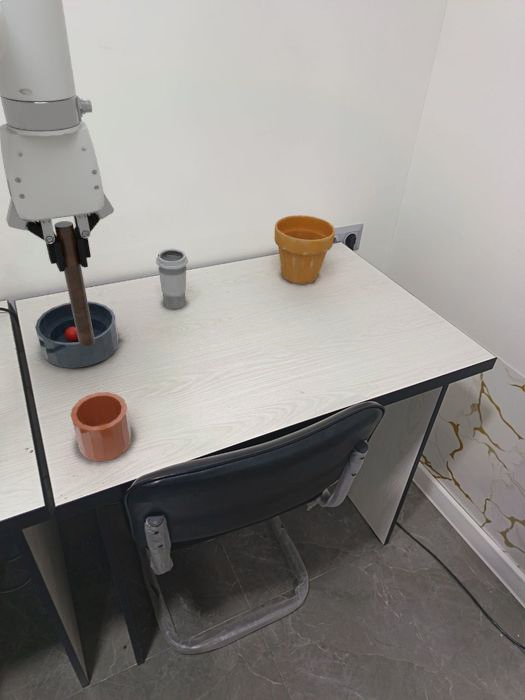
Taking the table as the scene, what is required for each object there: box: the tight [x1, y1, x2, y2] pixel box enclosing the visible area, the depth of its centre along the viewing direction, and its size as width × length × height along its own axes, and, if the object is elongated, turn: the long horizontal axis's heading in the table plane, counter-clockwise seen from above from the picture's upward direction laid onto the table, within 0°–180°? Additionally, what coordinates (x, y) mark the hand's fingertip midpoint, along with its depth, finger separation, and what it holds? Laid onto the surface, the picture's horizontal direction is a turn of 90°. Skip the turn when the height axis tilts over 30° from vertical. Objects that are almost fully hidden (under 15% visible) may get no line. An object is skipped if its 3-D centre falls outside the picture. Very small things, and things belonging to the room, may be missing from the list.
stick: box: [53, 220, 95, 347], centre depth 67 cm, size 2×2×18 cm
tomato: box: [65, 327, 78, 342], centre depth 96 cm, size 3×3×3 cm
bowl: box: [34, 300, 120, 369], centre depth 95 cm, size 14×14×6 cm
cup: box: [155, 248, 189, 310], centre depth 107 cm, size 7×7×12 cm
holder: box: [70, 391, 132, 462], centre depth 76 cm, size 8×8×7 cm
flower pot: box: [273, 214, 336, 285], centre depth 120 cm, size 14×14×13 cm
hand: (71, 263), depth 65 cm, fingers closed on stick, 2 cm apart
